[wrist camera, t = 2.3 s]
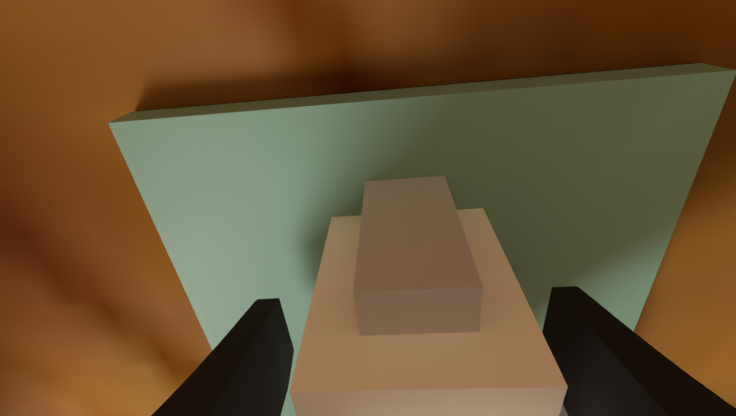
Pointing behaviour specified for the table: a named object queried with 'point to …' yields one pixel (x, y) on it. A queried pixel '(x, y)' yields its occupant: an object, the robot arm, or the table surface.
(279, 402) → the robot arm
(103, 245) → the table surface
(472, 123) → the board
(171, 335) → the table surface
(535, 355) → the plug
